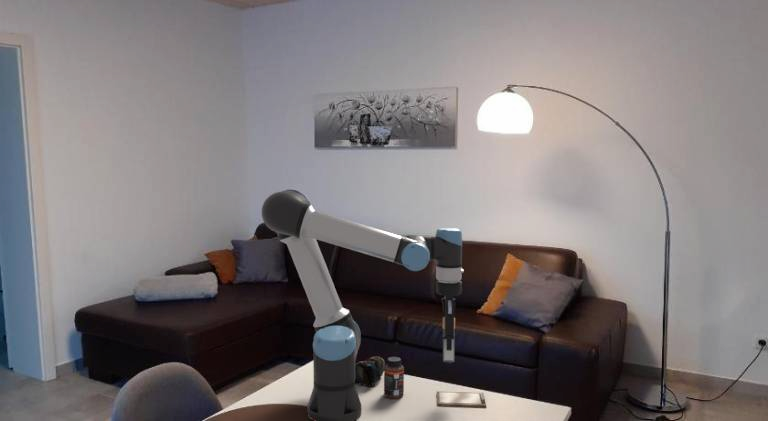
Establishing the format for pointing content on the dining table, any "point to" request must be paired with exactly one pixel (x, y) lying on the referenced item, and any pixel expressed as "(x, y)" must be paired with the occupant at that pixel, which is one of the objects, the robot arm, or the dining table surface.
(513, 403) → the dining table surface
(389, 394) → the supplement bottle
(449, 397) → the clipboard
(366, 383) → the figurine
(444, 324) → the marker
